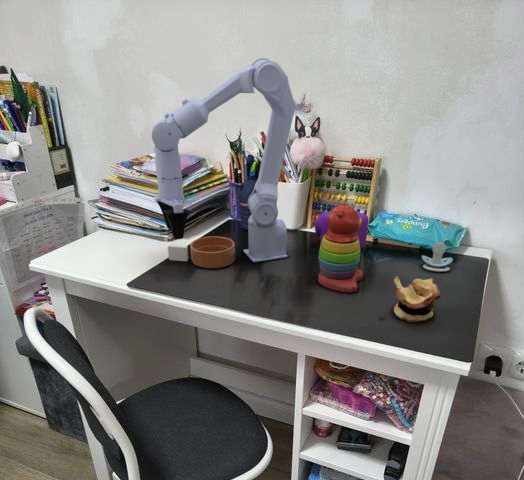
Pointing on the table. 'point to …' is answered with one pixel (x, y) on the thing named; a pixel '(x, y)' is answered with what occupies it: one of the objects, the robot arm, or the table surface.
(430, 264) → the pacifier
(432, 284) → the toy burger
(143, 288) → the table surface
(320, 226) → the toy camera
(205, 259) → the bowl
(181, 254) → the eraser
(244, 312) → the table surface
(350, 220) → the stacking bear
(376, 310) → the table surface
